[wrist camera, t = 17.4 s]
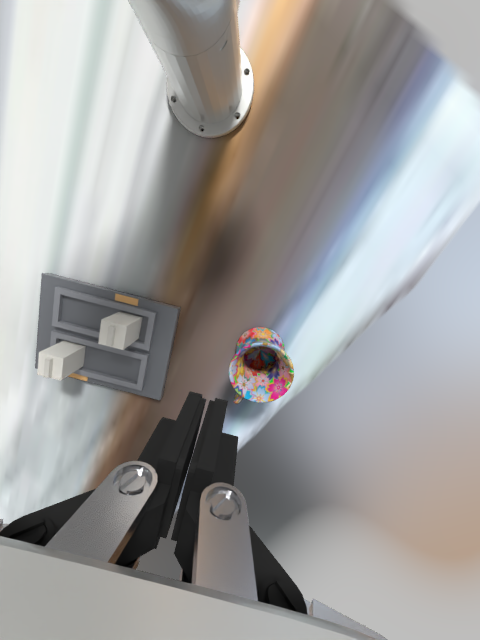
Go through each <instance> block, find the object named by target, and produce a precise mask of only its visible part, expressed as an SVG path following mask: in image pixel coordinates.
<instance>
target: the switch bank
mask: <svg viewBox="0 0 480 640" xmlns="http://www.w3.org/2000/svg"><path fill="white" fill-rule="evenodd" d="M180 309H181V307H178V306H174V305H170V304H166V303H162V302H158V301H154V300H151V299H147V298H143V297H139V296H135V295H131V294H128V293H124V292H120V291H116V290H112V289H108V288H105V287H101V286H97V285H93V284H89V283H85V282H81V281H78V280H74V279H70V278H66V277H62V276H58V275H55V274H51V273H42V279H41V293H40V307H39V321H38V335H37V349H36V363H35V368H37V369H38V358H39V352H40V351H42V350H45V349H47V348H49V347H51V346H53V345H55V344H57V343H60V342H62V341H64V340H65V341H69V342H72V343H76V344H80V345H84V346H86V348H85V357H84V365H83V366H82V367H81V368H79V369H78V370H76V371H75V372H73V373H72V374H70V375H69V376H67V377H71V378H75V379H79V380H83V381H87V382H91V383H95V384H98V385H102V386H106V387H110V388H114V389H118V390H122V391H126V392H129V393H133V394H137V395H141V396H145V397H149V398H153V399H156V400H161V398H162V397H163V392H164V388H165V383H166V378H167V373H168V368H169V363H170V358H171V353H172V348H173V343H174V338H175V333H176V329H177V324H178V319H179V314H180ZM120 311H121V312H125V313H129V314H133V315H136V316H140V317H142V323H141V329H140V335H139V339H137V340H136V341H135V342H133V343H132V344H131V345H129V346H128V347H127V348H125V349H124V350H121V349H117V348H113V347H109V346H106V345H102V344H98V342H99V334H100V326H101V319H104V318H106V317H108V316H110V315H113V314H115V313H117V312H120Z"/></svg>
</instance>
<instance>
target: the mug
mask: <svg viewBox="0 0 480 640" xmlns="http://www.w3.org/2000/svg"><path fill="white" fill-rule="evenodd" d="M293 377H294V369H293V364H292V362H291V360H290V358H289V356H288V355H287V354H286V353H285V352H284V344H283V341H282V339H281V338H280V336H279V335H278V334H277V333H276V332H274V331H272V330H270V329H268V328H263V327H257V328H252V329H250V330H248V331H246V332H245V333H244V334H243V335H242V336H241V337H240V338H239V340H238V343H237V346H236V354H235V355H234V357H233V358H232V360H231V363H230V366H229V379H230V382H231V384H232V386H233V388H234V389H235V391H236V394H235V397H234V403H235V404H239V403H240V402H241V401H242V399H243V398H245V399H247V400H249V401H252V402H258V403H265V402H271V401H274V400H276V399H278V398H280V397H281V396H283V395H284V394H285V393H286V392H287V391H288V389H289V388H290V386H291V384H292V381H293Z"/></svg>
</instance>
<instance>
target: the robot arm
mask: <svg viewBox="0 0 480 640" xmlns="http://www.w3.org/2000/svg"><path fill="white" fill-rule="evenodd" d="M128 1H129V3H130V5H131V7H132V9H133V11H134V13H135V15H136V17H137V18H138V20H139V22H140V24H141V26H142V28H143V30H144V32H145V34H146V36H147V38H148V40H149V42H150V44H151V46H152V48H153V50H154V52H155V54H156V56H157V58H158V60H159V62H160V64H161V65H162V67H163V69H164V71H165V73H166V75H167V82H166V86H167V96H168V100H169V104H170V106H171V108H172V110H173V113H174V114H175V116H176V118H177V119H178V120H179V122H180V123H181V124H182V125H183V126H184V127H185V128H186V129H187V130H188V131H190V132H192V133H193V134H195V135H198V136H201V137H205V138H216V137H221V136H224V135H227V134H228V133H230V132H232V131H233V130H235V129H236V128H237V127H238V126H239V125H240V124H241V123H242V122H243V120H244V119H245V118H246V116H247V114H248V112H249V110H250V107H251V104H252V101H253V94H254V78H253V71H252V68H251V64H250V62H249V59H248V57H247V55H246V54H245V52H244V51H243V49H242V48H241V47H240V41H239V29H238V17H237V13H238V8H239V3H240V0H128ZM246 74H248V76H246ZM174 101H176V102H174ZM237 117H239V119H236V118H237ZM202 129H204V131H203V132H201V130H202ZM205 402H206V399H204V398H202V394H198V393H194V392H189V395H188V397H187V399H186V401H185V403H184V405H183V407H182V409H181V411H180V414H179V416H178V418H177V420H176V421H175V420H171V419H168V418H164V417H163V418H162V419H161V420H160V422H159V423H158V425H157V427H156V429H155V431H154V432H153V434H152V436H151V438H150V439H149V441H148V443H147V445H146V446H145V448H144V450H143V452H142V453H141V455H140V457H139V459H138V460H137V461H130V462H125V463H123V464H121V465H119V466H117V467H116V468H115V469H114V470H113V471H112V472H111V473H110V474H109V475H108V476H107V477H106V478H105V479H104V481H103V482H102V483H101V484H100V485H99V486H98V487H97V488H96V489H94V490H91V491H89V492H86V493H83V494H81V495H78V496H76V497H73V498H70V499H68V500H65V501H62V502H60V503H57V504H54V505H52V506H49V507H46V508H44V509H41V510H39V511H36V512H33V513H31V514H28V515H25V516H23V517H21V518H19V519H17V520H15V521H13V522H12V523H10V524H3V519H0V640H387V639H386V638H385V637H383V636H382V635H380V634H378V633H377V632H375V631H373V630H371V629H369V628H367V627H365V626H364V625H362V624H360V623H358V622H356V621H354V620H352V619H351V618H349V617H347V616H345V615H343V614H341V613H339V612H337V611H336V610H334V609H332V608H330V607H328V606H326V605H325V604H323V603H321V602H319V601H317V600H315V599H313V600H312V602H309V601H307V600H305V599H304V598H303V595H302V594H301V592H300V590H299V589H298V587H297V586H296V585H295V583H294V582H293V581H292V579H291V578H290V577H289V575H288V574H287V573H286V572H285V570H284V569H283V568H282V567H281V565H280V564H279V563H278V561H277V560H276V559H275V558H274V556H273V555H272V554H271V553H270V551H269V550H268V549H267V548H266V546H265V545H264V544H263V542H262V541H261V540H260V538H259V537H258V536H257V535H256V533H255V532H254V531H253V529H252V528H251V527H250V526H249V522H248V514H247V506H246V502H245V498H244V497H243V495H242V494H241V492H240V491H239V490H238V489H236V488H235V487H233V486H234V476H235V465H236V455H237V445H238V437H237V436H233V435H230V434H226V433H222V428H223V423H224V418H225V413H226V407H227V402H228V401H225V400H221V399H217V398H216V399H215V401H211V400H210V402H209V405H208V408H207V411H206V414H205V418H204V421H203V424H202V427H201V430H200V434H199V437H198V440H197V443H196V446H195V442H196V438H197V434H198V430H199V426H200V422H201V418H202V414H203V410H204V406H205ZM194 446H195V450H194ZM193 450H194V453H193ZM192 454H193V456H192ZM191 458H192V459H191ZM190 461H191V463H190ZM189 464H190V466H189ZM188 467H189V470H188ZM187 471H188V474H187ZM186 474H187V478H186V482H185V486H184V490H183V494H182V498H181V502H180V506H179V510H178V514H177V518H176V522H175V526H174V530H173V534H172V538H171V539H172V540H175V541H177V544H176V548H175V552H174V554H175V556H176V558H177V559H178V562H179V564H180V565H181V567H182V569H181V573H180V578H179V581H178V580H174V579H170V578H166V577H162V576H159V575H154V574H151V573H146V572H143V571H139V570H136V568H137V567H138V564H139V562H140V559H141V556H142V555H143V554H145V553H147V552H149V551H150V550H152V549H154V548H155V549H156V548H157V545H158V542H159V539H160V537H163V538H166V537H167V534H168V531H169V528H170V525H171V521H172V518H173V515H174V512H175V509H176V506H177V502H178V499H179V496H180V493H181V490H182V486H183V483H184V480H185V477H186Z"/></svg>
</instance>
